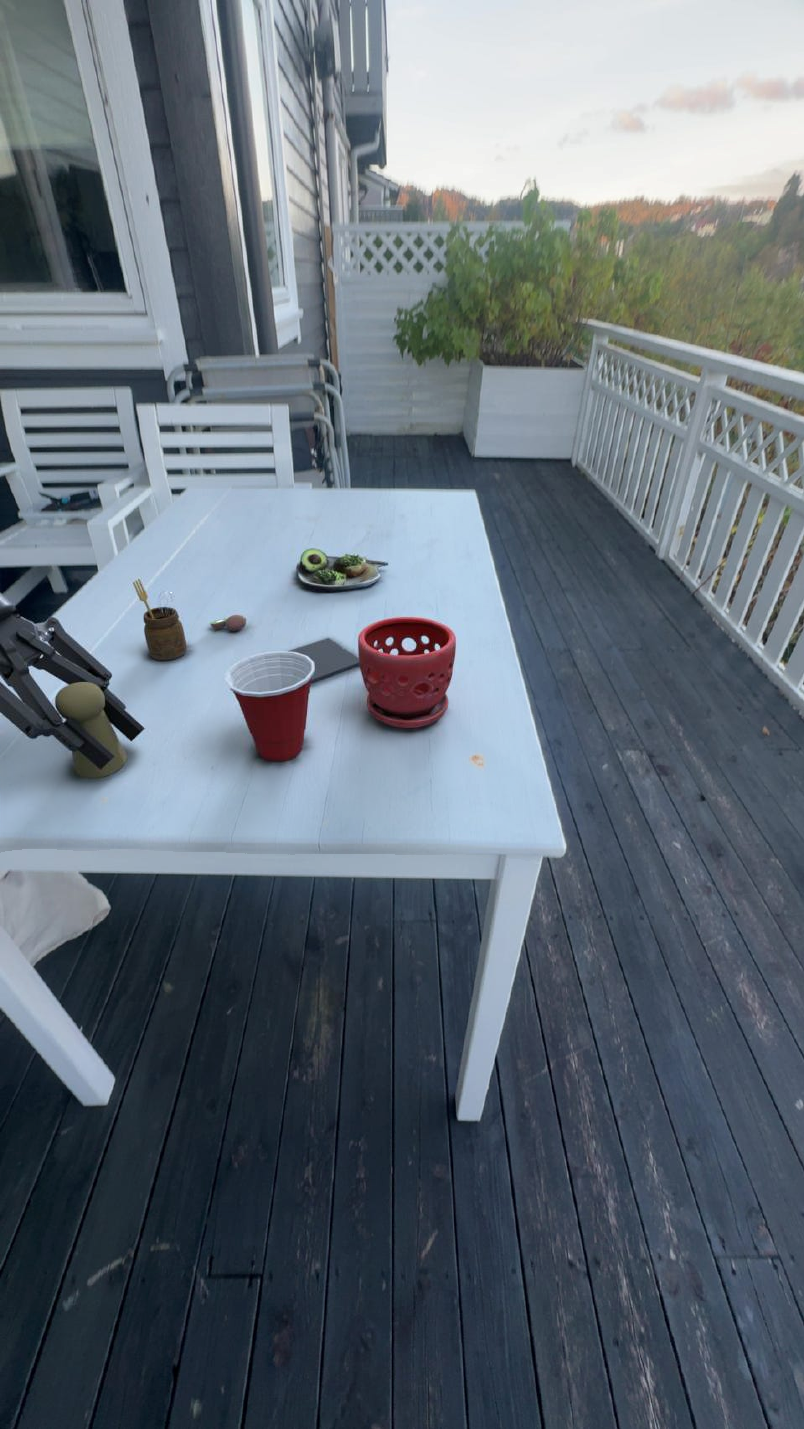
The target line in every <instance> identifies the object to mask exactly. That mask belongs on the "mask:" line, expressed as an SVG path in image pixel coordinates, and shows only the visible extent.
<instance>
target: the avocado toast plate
mask: <svg viewBox="0 0 804 1429" xmlns="http://www.w3.org/2000/svg"><path fill="white" fill-rule="evenodd" d="M388 565H389V562H388V561H381V560H373V559H369V558H367V556H361V555H359V554H357V555H356V554H350V553H345V554H344V555H339V556H336V555H335V556H334V555H327V554H326V553H325V552H324V551H323V550H321V549H318V548H307V549H306V550H304V551H303V552H302V554H301V555H300V560H299V561H298V562H297V563H296V566H295V569H296V575H297V578H298V582H299V583H300V585H301V587H303V588H305V589H307V590H308V591H312V592H318V593H328V592H329V593H330V592H343V591H349V590H357V589H360V588H366V587H370V586H371V585H373V584H374V583H376V582H377V581H379V580H380V579H381V575H380V573H379V570H378V569H379V568H382V567H387V566H388Z"/></svg>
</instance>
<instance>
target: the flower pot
mask: <svg viewBox="0 0 804 1429" xmlns="http://www.w3.org/2000/svg"><path fill="white" fill-rule="evenodd" d="M423 637H426V638H427V639H428V642H427V643H425V642H424V641H423V640H422V638H423ZM389 638H391V639H392V643H391V644H387V640H388V639H389ZM405 639H411V640H413V641H414V642H415V647H414V649H412V650H407V649H405V648H404V647H403V641H404V640H405ZM375 643H376V644H375ZM436 645H438V646H439V648H438V649H436ZM456 649H457V638H456V635H455V632H454V631H453V630H452V629H451V628H450V627H449V626H447V625H445V624H443V623H442V622H439V621H436V620H432V619H429V618H425V617H416V616H398V617H389V618H385V619H380V620H378V621H375V622H373V623H370V624H369V625H367V626H366V627H364V628H363V629H362V630H361V631H360V633H358V637H357V651H358V653H357V654H358V658H359V664H360V665H359V670H360V673H361V677H362V681H363V684H364V687H365V689H366V692H367V696H366V701H365V702H366V703H365V704H366V708H367V711H369V713H370V714H371V715H372V717H374V718H375V719H376V720H377V721H380V722H381V723H383V724H385V725H388V726H391V727H396V728H404V729H413V728H422V727H425V726H428V725H431V724H432V723H434V722H436V721H437V720H439V719H440V718H442V716H443V715H444V714H445V713H446V712H447V710H448V707H449V697H448V695H447V691H448V689H449V687H450V685H451V681H452V677H453V673H454V672H453V670H454V666H455V665H454V664H455V661H456V660H455V659H456V652H457V651H456ZM379 650H382V651H379ZM392 650H397V654H391V652H392ZM425 651H428V652H427V653H425Z"/></svg>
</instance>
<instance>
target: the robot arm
mask: <svg viewBox="0 0 804 1429" xmlns="http://www.w3.org/2000/svg"><path fill="white" fill-rule="evenodd" d="M46 642H47V643H46ZM30 667H32V668H35V669H36V670H38V671H41V670H42V671H44V672H46V673H48V674H50V675H52V676H53V677H55V678H57V679H58V680H60V681H62V682H63V683H65V684H67V686H68V685H70V684H73V683H78V682H89V683H93V684H95V685H97V686H98V687H99V688H100V689H101V691H102V692H103V694H104V697H105V706H104V708H103V710H104V712H105V714H106V716H107V718H108V719H109V721H110V723H111V725H112V727H114V728H116V729H117V730H118V731H119V732H120V733H122V735H123V736H124V737H125V738H127V740H129V741H130V742H133V741H134V740H135V739H136V738H137V737H138V736H139V735H140V734H141V733H142V732H143V731H144V730H145V729H146V728H145V727H144V726H143V725H142V724H141V723H140V722H139V721H138V720H137V719H136V718H134V717H133V716H132V715H131V714H129V712H128V711H127V710H126V709H127V706H126V705H125V703H124V702H122V700H120V698H119V697H117V696H116V694H114V693H113V692H112V691H111V690H110V689H109V686H110V684H111V683H110V680H111V679H112V677H113V673H112V672H111V671H110V670H109V669H108V668H107V667H105V666H104V664H102V662H100V661H99V660H98V659H97V658H96V657H94V656H93V655H92V653H90V652H89V651H88V650H86V648H84V647H83V646H82V645H81V644H80V643H79V642H78V641H77V640H75V638H73V637H72V636H71V635H70V634H69V633H67V632H66V630H65V628H64V627H63V625H62V623H61V622H60V620H59V619H58V618H56V617H54V616H50V617H48V619H47V620H46V621H43V622H37V623H34V622H33V621H32V620H29V619H28V618H25V617H23V616H22V615H20V613H19V611H18V610H17V608H16V605H15V604H13V602H11V601H10V600H9V599H8V598H7V597H6V596H5V595H3V593H1V592H0V677H1V679H2V680H3V681H4V682H5V684H6V685H7V686H8V687H11V688H12V689H13V691H14V692H15V693H16V694H15V693H13V691H12V690H10V689H9V688H8V687H7V686H6V685H5V684H4V683H2V682H1V681H0V713H1V715H2V716H3V717H5V718H6V719H7V720H8V721H9V722H10V723H11V724H13V725H14V726H15V727H16V728H17V729H19V730H20V732H22V733H23V734H24V735H25V736H26V737H27V738H29V739H31V740H35V739H37V738H38V737H40V736H43V737H45V738H49V737H51V736H53V738H55V739H56V740H57V741H58V742H59V743H60V744H62V745H63V746H64V747H66V749H68V751H71V752H72V751H73V752H76V751H77V750H78V751H80V752H81V753H82V754H83V755H84V756H85V757H87V758H88V759H89V760H90V761H91V762H92V763H93V764H95V765H96V766H97V767H98V768H99V769H100V770H101V769H102V768H103V767H104V766H105V765H106V764H107V763H109V762H110V761H111V760H112V759H113V758H114V757H115V756H114V755H113V754H112V753H111V752H110V751H108V750H107V749H106V748H105V747H104V746H103V745H102V744H100V743H99V742H98V741H97V740H96V739H95V738H94V737H93V736H91V735H90V734H89V733H88V732H87V731H86V730H85V729H83V728H82V727H81V726H80V725H79V724H78V723H77V722H76V721H74V720H73V719H72V718H71V717H70V718H68V719H67V720H66V719H65V721H64V722H63V719H64V718H63V717H62V716H61V715H60V714H59V712H58V711H57V709H56V707H55V705H53V703H52V702H51V701H50V700H49V698H48V697H47V695H46V694H45V693H44V691H43V690H42V688H41V687H40V685H39V684H38V683H37V681H36V680H35V679H34V677H33V676H32V675H31V672H30Z"/></svg>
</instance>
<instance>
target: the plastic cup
mask: <svg viewBox="0 0 804 1429" xmlns="http://www.w3.org/2000/svg"><path fill="white" fill-rule="evenodd" d="M314 671H315V668H314V662H313V661H312V660H311V659H310V658H309V657H308V656H306V655H303V654H300V653H297V652H288V651H287V650H286V651H285V650H278V651H268V652H267V651H266V652H261V653H258V654H254V655H250V656H247V657H245V658H243V659H241V660H240V661H237V662H235V663H233V664H232V666H231V667H229V668H228V669H227V670H226V671H225V675H224V679H223V681H224V683H225V684H226V686H227V687H228V688H229V689H230V691H231V692H232V693H233V695H234V697H235V699H236V700H237V702H238V704H239V707H240V710H241V712H242V715H243V718H244V721H245V723H246V726H247V729H248V731H249V734H250V735H251V737H252V741H253V743H254V746H255V749H256V750H257V753H258V754H259V756H260V758H263V759H265V760H266V761H270V762H275V763H277V762H286V761H289V760H292V759H294V758H296V757H297V756H298V755H300V753H301V752H302V750H303V746H304V741H305V730H306V727H307V719H308V707H309V699H310V698H309V696H310V694H311V693H310V692H311V685H312V683H311V680H312V676H313V675H314Z"/></svg>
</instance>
